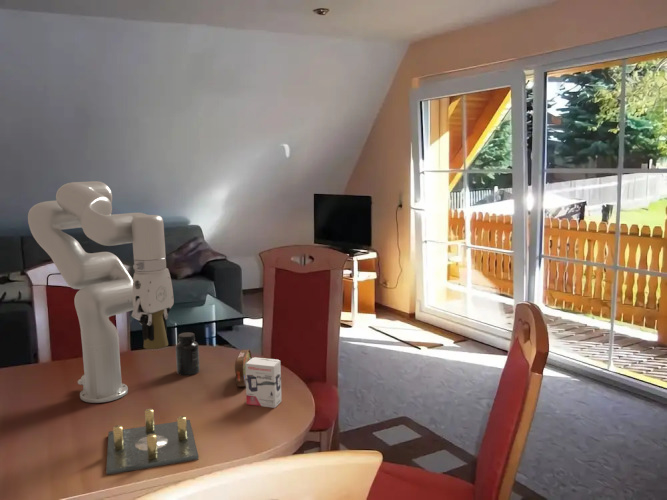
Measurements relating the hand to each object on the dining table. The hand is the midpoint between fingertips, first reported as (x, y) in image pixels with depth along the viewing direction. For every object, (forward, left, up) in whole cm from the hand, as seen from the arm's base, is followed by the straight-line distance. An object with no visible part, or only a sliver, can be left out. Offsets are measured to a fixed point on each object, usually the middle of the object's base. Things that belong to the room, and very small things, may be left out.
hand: (155, 336), depth 152 cm
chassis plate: (+9, -13, -21) cm, 27 cm away
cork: (0, 0, -2) cm, 2 cm away
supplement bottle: (-15, +29, -22) cm, 39 cm away
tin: (+5, +30, -22) cm, 37 cm away
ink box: (+19, +19, -22) cm, 35 cm away
